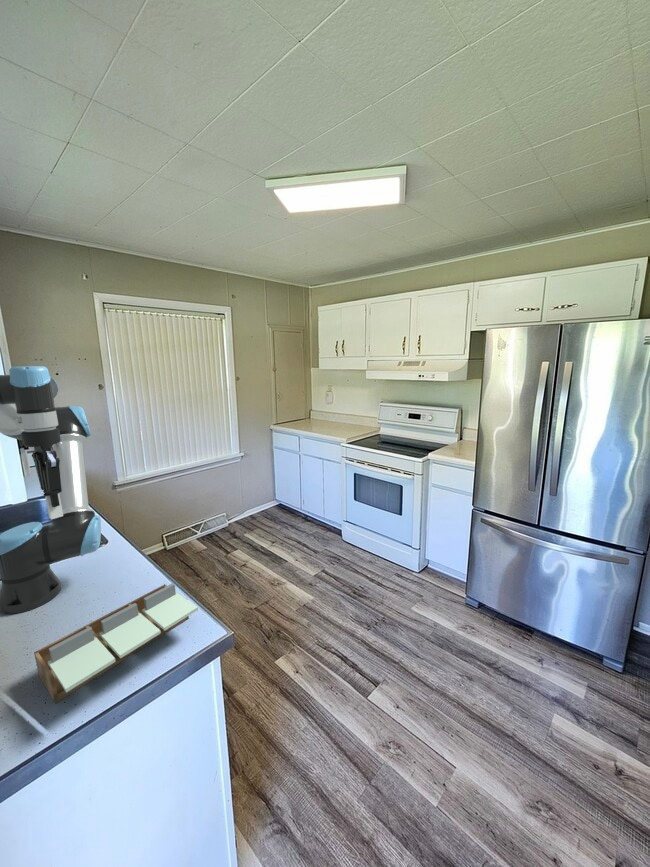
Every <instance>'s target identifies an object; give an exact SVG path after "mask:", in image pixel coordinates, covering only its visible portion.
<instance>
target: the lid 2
mask: <svg viewBox="0 0 650 867" xmlns="http://www.w3.org/2000/svg"><path fill="white" fill-rule="evenodd" d="M101 626H102V632H101V633H99V634H100V637H101V638H102V639H103V640H104V641H105V642H106V643H107V644H108V645H109V646H110V648H111V649H112V650H113V651H114V652H115V653H116V654H117V655H118V656H119V657H120V659H121V658H122V657H124V656H125V655H127V654H129V653H130V652H132V651H133V650H135V649H137V648H138V647H140V646H141V645H143V644H145V643H146V642H148V641H149V640H151V639H152V638H154V637H156V636H157V635H159V634H160V633H161V631H160V630H159V629H158V628H157V627H156V626H155V625H154V624H152V623H151V622H150V621H149V620H148V619H147V618H145V617H144V616H143V615H142V614H141V613H139V612H138V607H137V604H136V603H134V604H132V605H130V606H128V607H126V608H124V609H123V610H121V611H119V612H117V613H115V614H113V615H111V616H109V617H107V618H105V619H104V620H102V621H101Z"/></svg>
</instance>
